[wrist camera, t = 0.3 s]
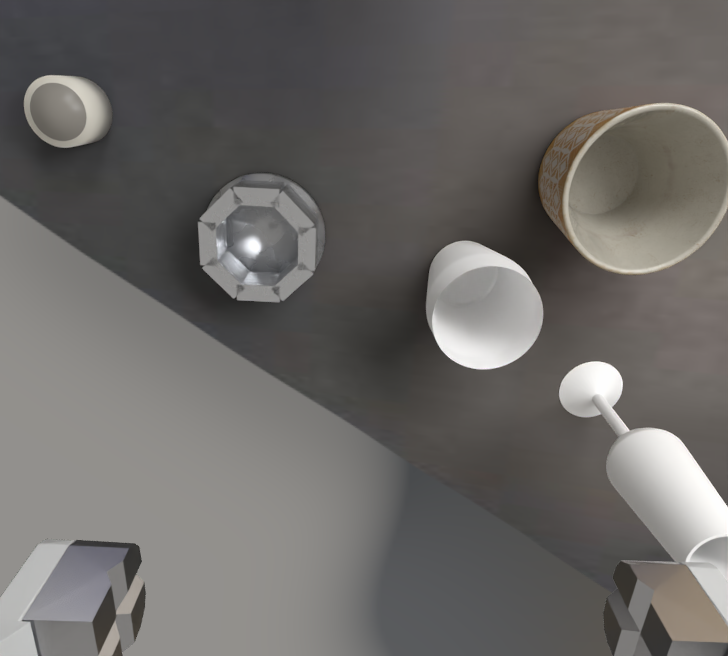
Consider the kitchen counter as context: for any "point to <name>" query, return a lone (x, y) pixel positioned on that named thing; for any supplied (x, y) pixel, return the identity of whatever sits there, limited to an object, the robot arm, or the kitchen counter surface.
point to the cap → (67, 110)
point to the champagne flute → (654, 473)
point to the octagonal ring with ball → (261, 237)
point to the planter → (637, 185)
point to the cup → (481, 306)
